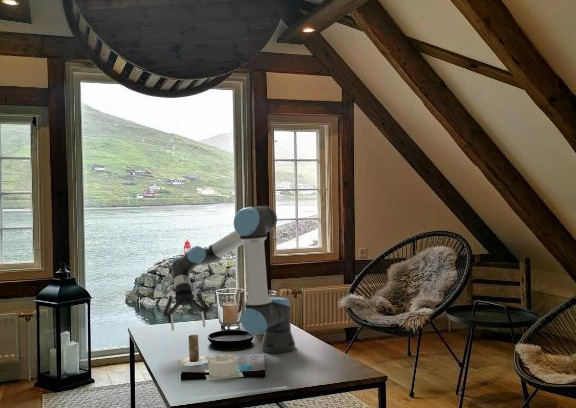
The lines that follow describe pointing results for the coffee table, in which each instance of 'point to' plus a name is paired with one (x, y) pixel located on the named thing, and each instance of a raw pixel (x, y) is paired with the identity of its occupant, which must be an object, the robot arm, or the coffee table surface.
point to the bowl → (222, 365)
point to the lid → (192, 351)
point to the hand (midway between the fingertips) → (188, 327)
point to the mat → (238, 374)
